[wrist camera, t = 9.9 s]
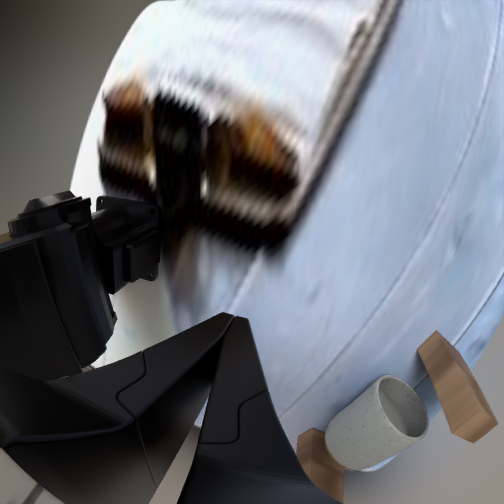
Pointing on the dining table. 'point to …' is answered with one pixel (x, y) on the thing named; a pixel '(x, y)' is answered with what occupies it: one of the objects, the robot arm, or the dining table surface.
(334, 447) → the ceramic mug
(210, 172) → the dining table surface
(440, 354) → the walnut bookends
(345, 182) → the dining table surface
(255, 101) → the dining table surface
